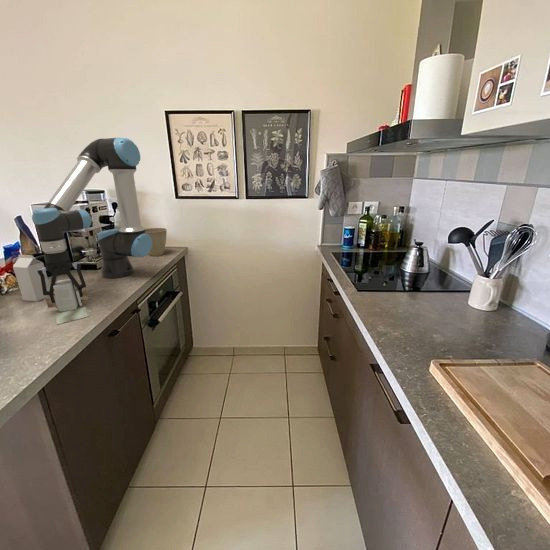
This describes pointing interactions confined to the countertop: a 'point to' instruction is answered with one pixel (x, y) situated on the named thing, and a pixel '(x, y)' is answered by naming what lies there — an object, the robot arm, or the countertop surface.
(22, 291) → the milk carton
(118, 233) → the robot arm
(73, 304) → the small box
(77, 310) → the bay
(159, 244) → the plant pot
